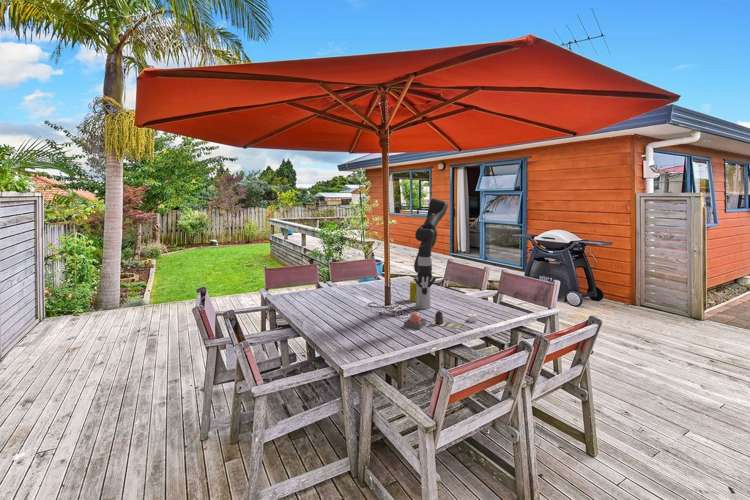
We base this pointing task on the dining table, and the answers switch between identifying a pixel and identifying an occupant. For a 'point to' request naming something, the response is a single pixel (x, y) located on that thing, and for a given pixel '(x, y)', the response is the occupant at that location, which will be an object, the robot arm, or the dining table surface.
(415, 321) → the dome
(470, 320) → the die
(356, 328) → the dining table surface
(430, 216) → the robot arm
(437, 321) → the pawn
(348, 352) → the dining table surface
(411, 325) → the dome collar
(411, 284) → the food
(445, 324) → the board
